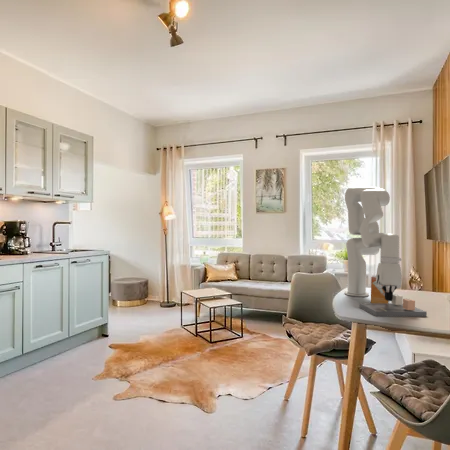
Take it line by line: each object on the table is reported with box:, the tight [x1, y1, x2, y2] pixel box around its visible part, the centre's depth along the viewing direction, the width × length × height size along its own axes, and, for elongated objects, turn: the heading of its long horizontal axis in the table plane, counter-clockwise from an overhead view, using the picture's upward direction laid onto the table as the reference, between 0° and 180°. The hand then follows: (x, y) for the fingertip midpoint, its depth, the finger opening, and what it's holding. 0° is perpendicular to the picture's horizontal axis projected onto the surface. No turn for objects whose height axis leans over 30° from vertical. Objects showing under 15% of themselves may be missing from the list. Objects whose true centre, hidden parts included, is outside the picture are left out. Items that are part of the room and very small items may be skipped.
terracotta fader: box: [402, 298, 416, 310], centre depth 152 cm, size 4×3×4 cm
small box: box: [370, 275, 390, 303], centre depth 176 cm, size 8×6×13 cm
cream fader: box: [390, 293, 404, 305], centre depth 162 cm, size 4×3×4 cm
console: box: [358, 302, 428, 317], centre depth 157 cm, size 16×22×2 cm
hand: (388, 300), depth 162 cm, fingers closed
